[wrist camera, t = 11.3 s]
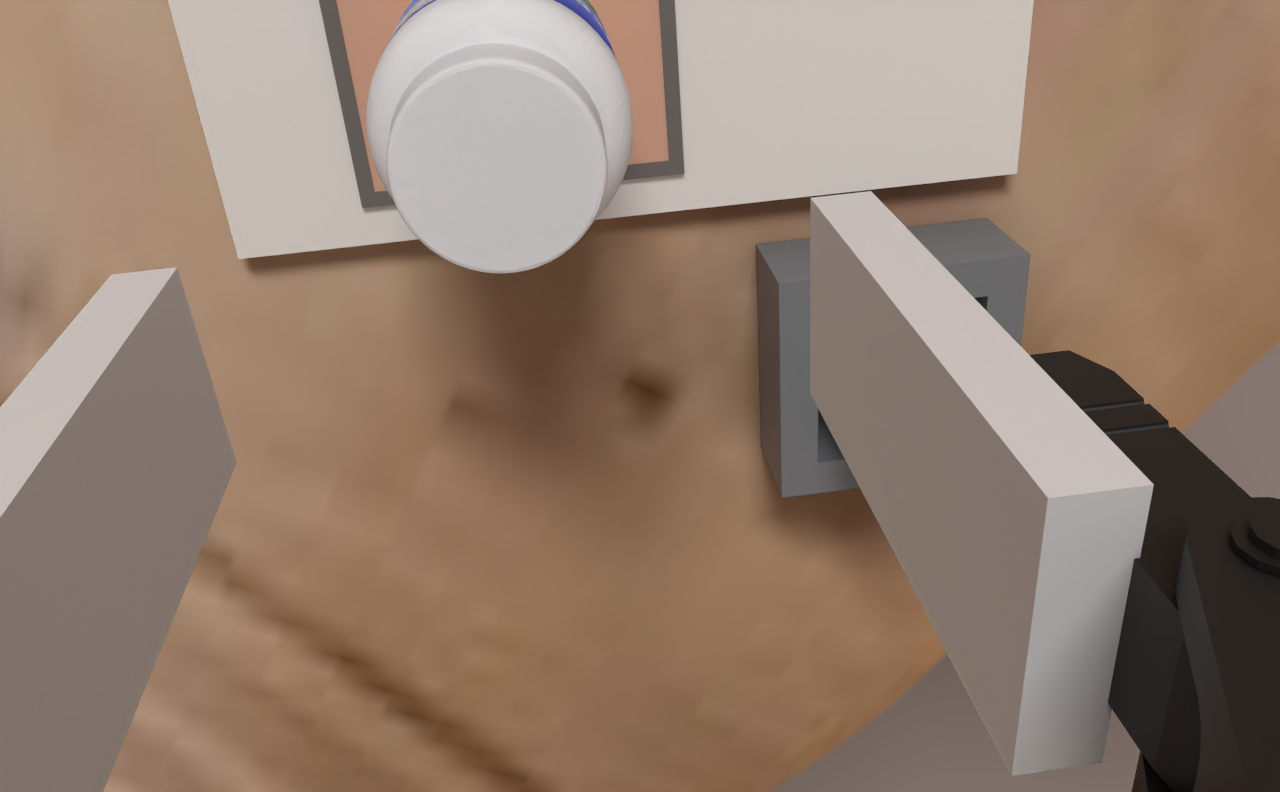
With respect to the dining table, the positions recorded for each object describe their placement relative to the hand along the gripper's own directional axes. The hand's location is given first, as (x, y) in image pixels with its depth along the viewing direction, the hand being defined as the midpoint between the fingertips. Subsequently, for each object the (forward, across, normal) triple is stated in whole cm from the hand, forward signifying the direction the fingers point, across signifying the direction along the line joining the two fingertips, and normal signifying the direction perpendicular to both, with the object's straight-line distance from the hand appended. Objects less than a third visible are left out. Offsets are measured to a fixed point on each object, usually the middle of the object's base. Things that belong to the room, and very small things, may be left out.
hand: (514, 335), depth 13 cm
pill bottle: (+17, 0, 0) cm, 17 cm away
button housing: (+17, +10, -10) cm, 22 cm away
